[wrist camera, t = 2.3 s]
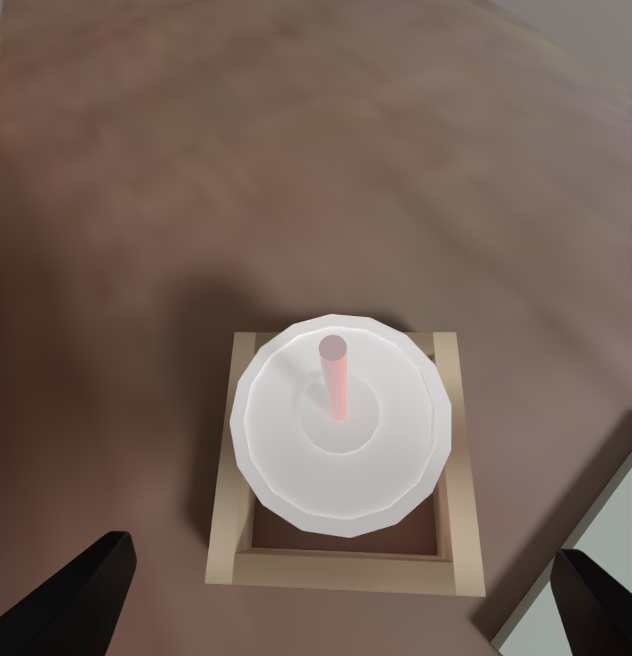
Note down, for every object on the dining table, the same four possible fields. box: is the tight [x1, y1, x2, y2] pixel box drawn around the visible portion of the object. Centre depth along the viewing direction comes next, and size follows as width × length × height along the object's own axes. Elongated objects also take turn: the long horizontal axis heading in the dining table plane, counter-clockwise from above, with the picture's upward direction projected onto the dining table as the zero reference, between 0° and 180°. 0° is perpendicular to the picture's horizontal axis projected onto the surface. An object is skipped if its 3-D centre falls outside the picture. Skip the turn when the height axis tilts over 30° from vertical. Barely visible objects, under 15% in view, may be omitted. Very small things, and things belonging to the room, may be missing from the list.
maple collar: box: [205, 332, 486, 597], centre depth 18 cm, size 10×10×3 cm
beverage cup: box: [230, 314, 451, 538], centre depth 13 cm, size 6×6×14 cm
